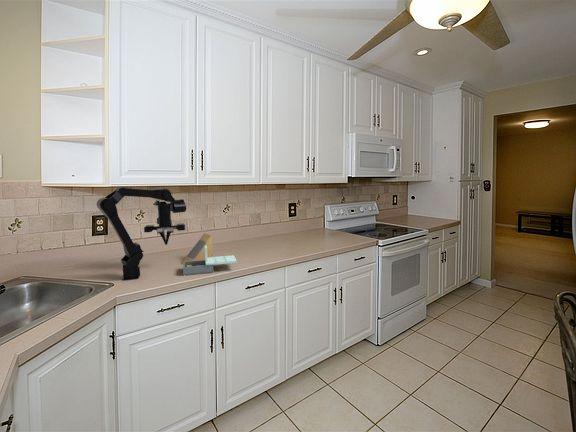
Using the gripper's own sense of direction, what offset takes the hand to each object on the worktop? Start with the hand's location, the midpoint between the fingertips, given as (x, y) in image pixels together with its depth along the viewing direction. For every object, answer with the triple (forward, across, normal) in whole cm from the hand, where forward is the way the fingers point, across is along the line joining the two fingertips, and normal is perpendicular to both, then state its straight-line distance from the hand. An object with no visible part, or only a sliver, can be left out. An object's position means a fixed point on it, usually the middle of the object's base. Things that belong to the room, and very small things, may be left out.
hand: (166, 244), depth 148 cm
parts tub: (+13, -15, +8) cm, 21 cm away
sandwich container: (+13, -14, -9) cm, 21 cm away
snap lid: (+9, -26, +7) cm, 28 cm away
